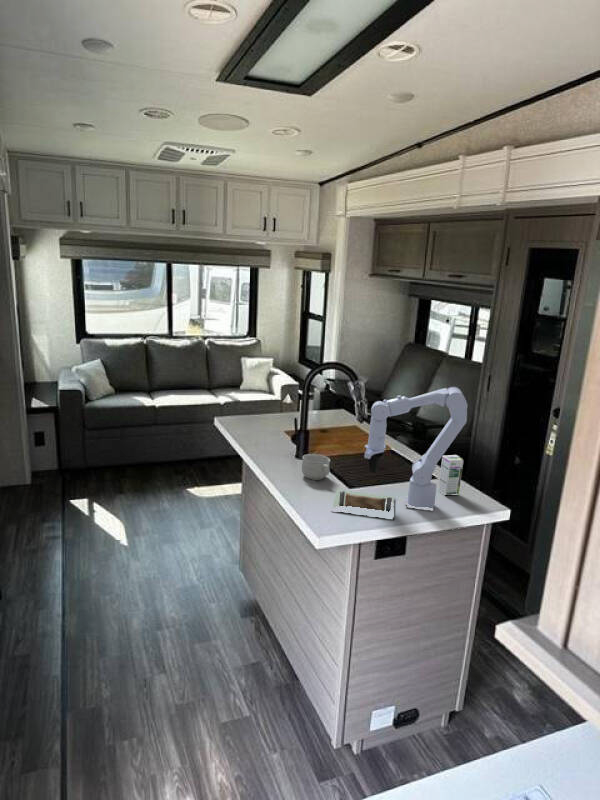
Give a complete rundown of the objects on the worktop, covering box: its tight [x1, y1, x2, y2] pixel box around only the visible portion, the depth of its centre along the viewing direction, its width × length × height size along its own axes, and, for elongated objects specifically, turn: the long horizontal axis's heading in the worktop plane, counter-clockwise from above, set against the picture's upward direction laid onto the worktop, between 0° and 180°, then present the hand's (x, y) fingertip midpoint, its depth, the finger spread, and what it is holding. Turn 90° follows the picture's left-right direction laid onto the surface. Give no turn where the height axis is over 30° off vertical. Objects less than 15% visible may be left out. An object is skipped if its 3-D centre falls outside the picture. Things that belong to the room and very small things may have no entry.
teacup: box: [301, 453, 331, 481], centre depth 213 cm, size 14×11×8 cm
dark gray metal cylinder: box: [339, 491, 392, 512], centre depth 189 cm, size 18×2×6 cm, turn 80°
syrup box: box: [437, 454, 464, 495], centre depth 208 cm, size 6×6×14 cm
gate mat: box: [332, 488, 396, 508], centre depth 194 cm, size 21×18×1 cm
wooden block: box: [345, 493, 386, 511], centre depth 189 cm, size 14×1×4 cm, turn 81°
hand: (373, 472), depth 197 cm, fingers closed
